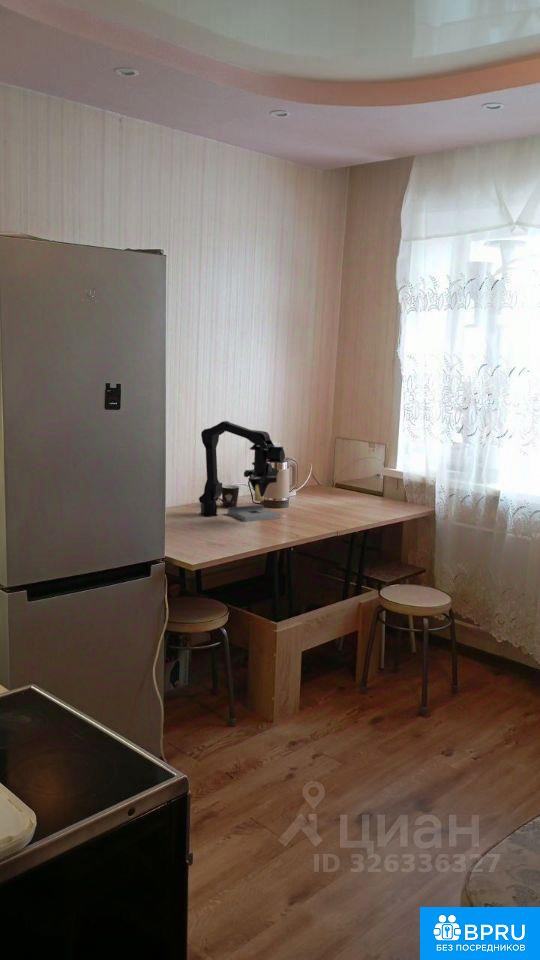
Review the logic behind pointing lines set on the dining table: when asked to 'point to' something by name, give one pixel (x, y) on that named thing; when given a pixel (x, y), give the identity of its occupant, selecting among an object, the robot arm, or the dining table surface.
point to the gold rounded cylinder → (258, 494)
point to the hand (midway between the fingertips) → (259, 495)
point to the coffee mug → (229, 495)
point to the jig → (252, 513)
